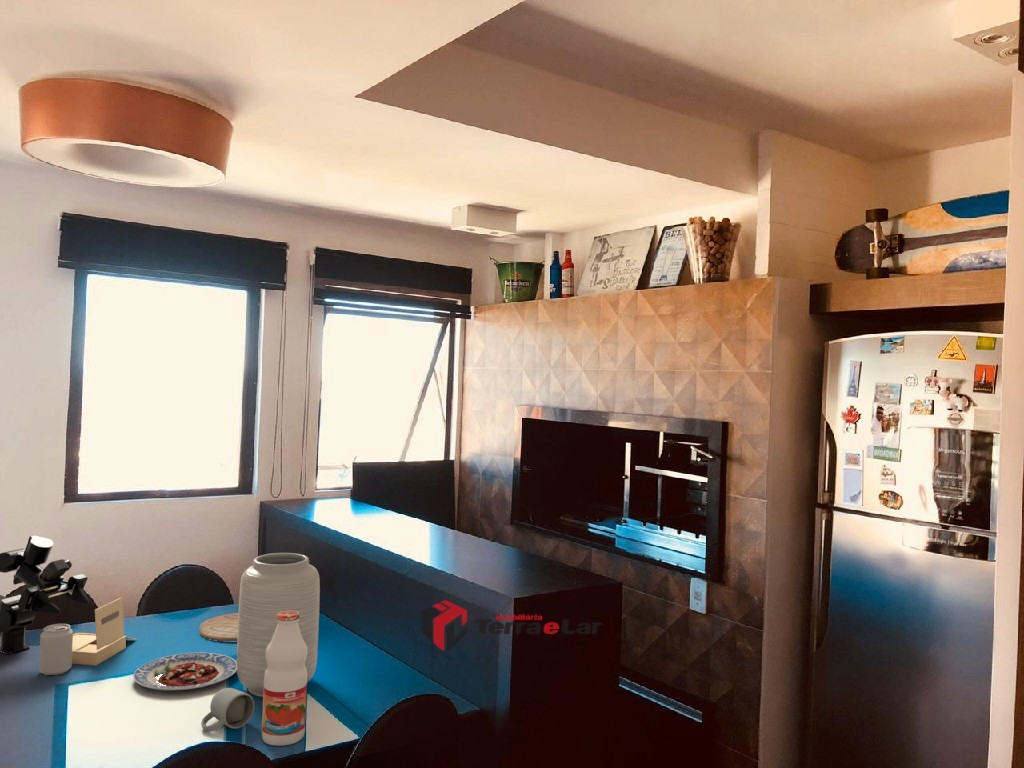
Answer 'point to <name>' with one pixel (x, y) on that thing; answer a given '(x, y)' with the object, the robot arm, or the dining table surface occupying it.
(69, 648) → the can
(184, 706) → the dining table surface
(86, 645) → the carton
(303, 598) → the vase
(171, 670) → the ceramic plate
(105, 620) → the flap
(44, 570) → the robot arm
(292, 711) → the fruit juice
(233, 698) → the ceramic mug
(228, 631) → the trivet
